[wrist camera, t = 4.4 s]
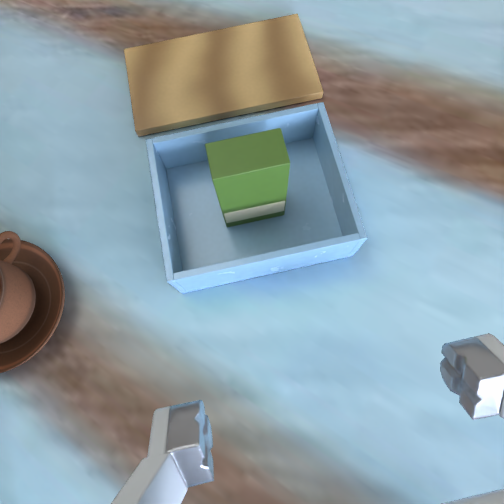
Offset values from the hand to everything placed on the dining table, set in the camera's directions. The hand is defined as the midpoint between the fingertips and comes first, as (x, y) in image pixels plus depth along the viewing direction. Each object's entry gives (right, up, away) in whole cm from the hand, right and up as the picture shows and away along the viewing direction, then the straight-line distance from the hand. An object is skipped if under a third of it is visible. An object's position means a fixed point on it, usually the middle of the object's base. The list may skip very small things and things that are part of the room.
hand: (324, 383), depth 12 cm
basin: (-2, +8, +23) cm, 25 cm away
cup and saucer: (-25, -1, +22) cm, 33 cm away
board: (-6, +24, +28) cm, 37 cm away
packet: (-2, +9, +23) cm, 24 cm away
